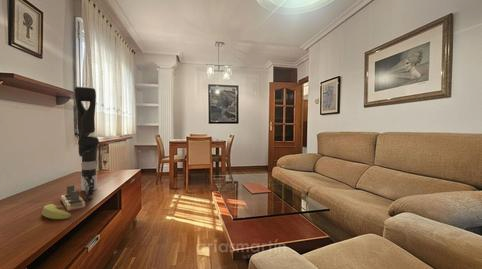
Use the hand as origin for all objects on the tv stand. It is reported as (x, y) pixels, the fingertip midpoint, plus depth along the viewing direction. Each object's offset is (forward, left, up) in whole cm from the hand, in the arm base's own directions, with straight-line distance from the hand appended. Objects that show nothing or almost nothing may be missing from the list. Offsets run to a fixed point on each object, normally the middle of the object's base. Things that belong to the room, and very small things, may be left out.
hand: (89, 193), depth 137 cm
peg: (0, 0, -4) cm, 4 cm away
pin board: (+1, -8, -4) cm, 9 cm away
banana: (+14, -16, -4) cm, 22 cm away
